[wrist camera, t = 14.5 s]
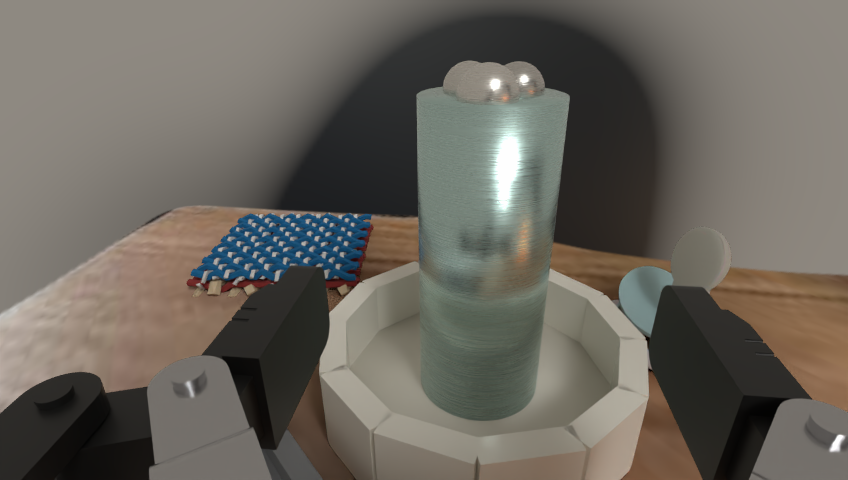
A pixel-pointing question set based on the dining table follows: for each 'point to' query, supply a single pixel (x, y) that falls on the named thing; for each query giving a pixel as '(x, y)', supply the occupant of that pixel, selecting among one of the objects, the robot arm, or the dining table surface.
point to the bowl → (483, 440)
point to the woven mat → (284, 252)
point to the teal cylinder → (486, 233)
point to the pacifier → (674, 276)
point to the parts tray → (289, 461)
